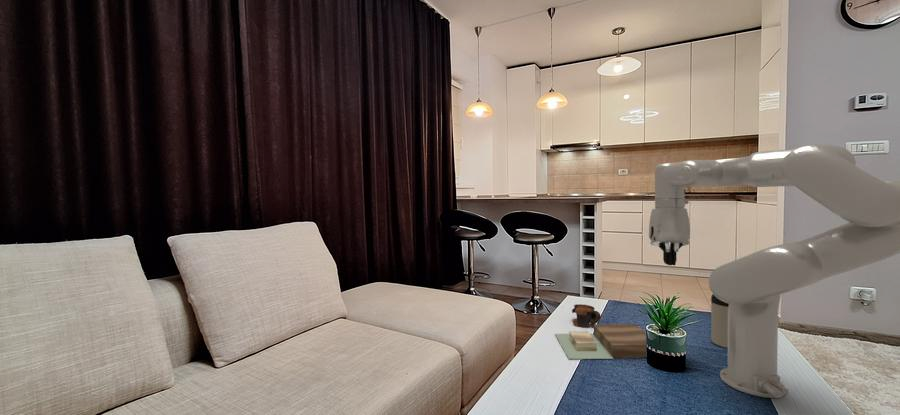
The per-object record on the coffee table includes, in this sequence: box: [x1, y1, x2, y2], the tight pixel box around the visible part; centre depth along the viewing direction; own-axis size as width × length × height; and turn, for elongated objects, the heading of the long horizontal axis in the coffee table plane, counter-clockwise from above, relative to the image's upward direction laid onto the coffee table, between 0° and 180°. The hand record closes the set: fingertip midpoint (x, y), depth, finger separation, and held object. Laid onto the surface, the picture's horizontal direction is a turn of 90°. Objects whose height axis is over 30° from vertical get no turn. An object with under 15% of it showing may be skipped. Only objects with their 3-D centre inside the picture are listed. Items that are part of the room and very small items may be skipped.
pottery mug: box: [571, 304, 601, 329], centre depth 131 cm, size 12×10×8 cm
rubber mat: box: [554, 332, 615, 361], centre depth 113 cm, size 18×13×1 cm
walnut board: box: [593, 323, 647, 359], centre depth 112 cm, size 16×14×4 cm
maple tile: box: [568, 330, 597, 351], centre depth 113 cm, size 9×6×2 cm, turn 175°
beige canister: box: [710, 294, 729, 349], centre depth 110 cm, size 8×8×18 cm
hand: (669, 264), depth 106 cm, fingers closed
